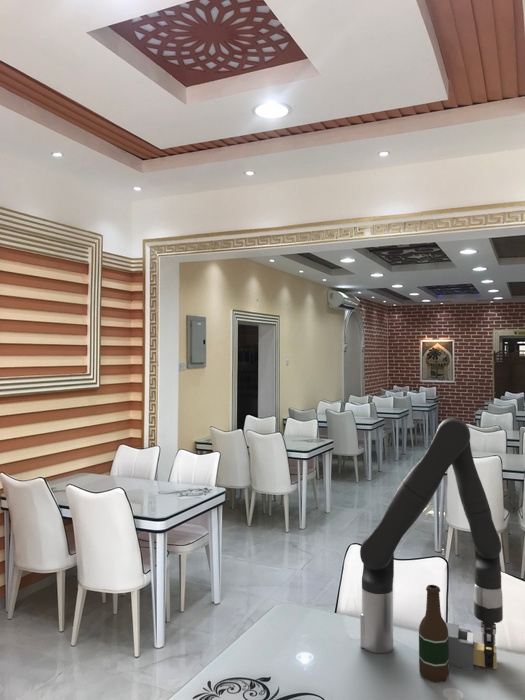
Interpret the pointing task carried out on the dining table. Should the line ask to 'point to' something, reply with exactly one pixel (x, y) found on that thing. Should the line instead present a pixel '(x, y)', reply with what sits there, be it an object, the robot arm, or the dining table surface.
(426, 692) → the dining table surface
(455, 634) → the dispenser
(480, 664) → the yellow rectangular block
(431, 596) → the beer bottle
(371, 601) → the robot arm
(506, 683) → the dining table surface
